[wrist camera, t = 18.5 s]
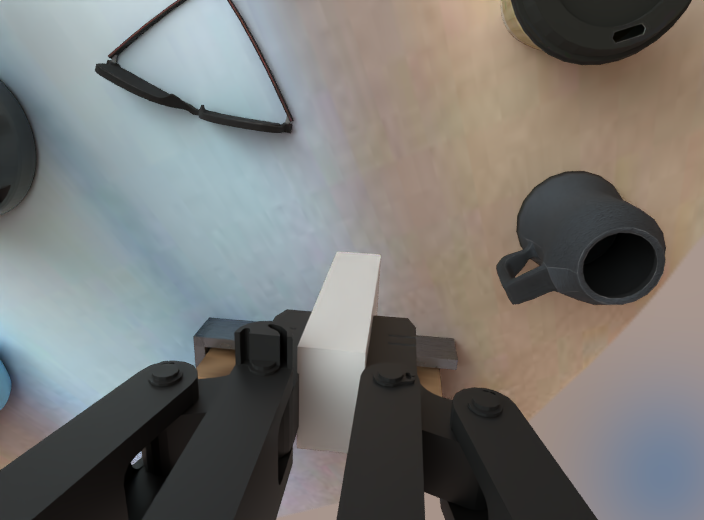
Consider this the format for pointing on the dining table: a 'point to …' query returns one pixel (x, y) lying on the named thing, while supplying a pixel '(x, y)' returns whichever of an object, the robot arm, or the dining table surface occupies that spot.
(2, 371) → the teapot
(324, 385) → the robot arm
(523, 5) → the coffee cup
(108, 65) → the sunglasses
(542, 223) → the mug
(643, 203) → the dining table surface
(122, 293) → the dining table surface
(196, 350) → the slat support bracket
